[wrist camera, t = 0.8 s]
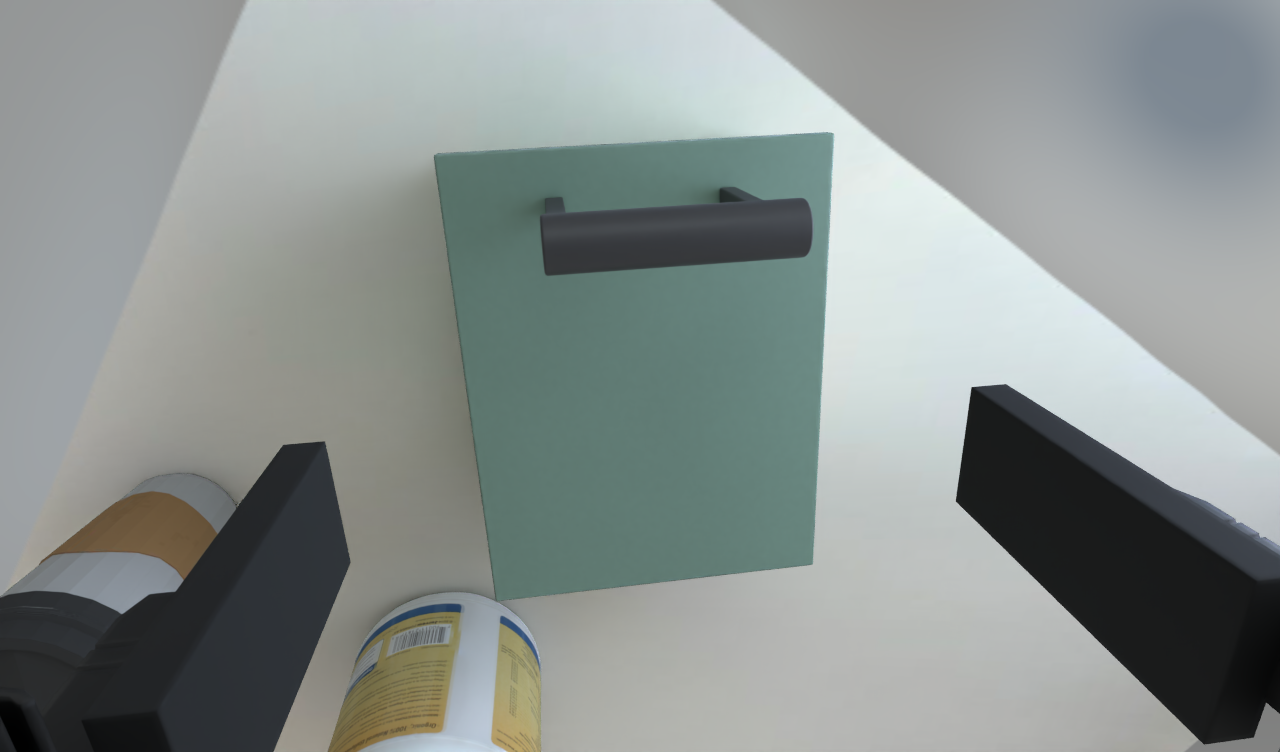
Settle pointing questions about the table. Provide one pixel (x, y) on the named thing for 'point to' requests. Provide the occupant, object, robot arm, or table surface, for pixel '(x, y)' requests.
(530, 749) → the supplement tub
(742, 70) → the table surface
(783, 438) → the box lid
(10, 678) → the coffee cup
